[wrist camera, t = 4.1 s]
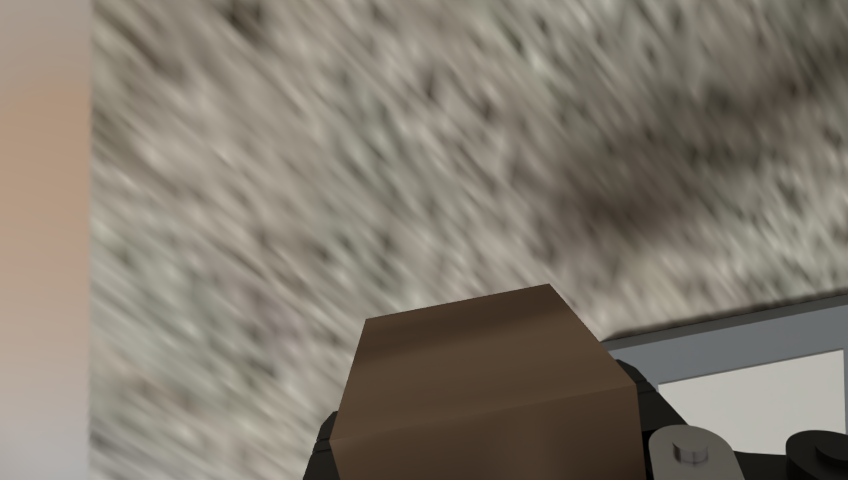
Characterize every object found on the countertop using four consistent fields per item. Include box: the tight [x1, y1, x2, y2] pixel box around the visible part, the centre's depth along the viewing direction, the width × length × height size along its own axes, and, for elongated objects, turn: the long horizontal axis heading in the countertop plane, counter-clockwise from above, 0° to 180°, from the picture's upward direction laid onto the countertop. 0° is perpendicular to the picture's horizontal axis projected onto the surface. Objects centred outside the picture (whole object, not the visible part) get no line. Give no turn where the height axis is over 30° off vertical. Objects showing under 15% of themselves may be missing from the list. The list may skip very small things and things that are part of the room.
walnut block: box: [329, 284, 646, 480], centre depth 10 cm, size 5×5×5 cm
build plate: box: [601, 294, 848, 455], centre depth 21 cm, size 12×12×1 cm
